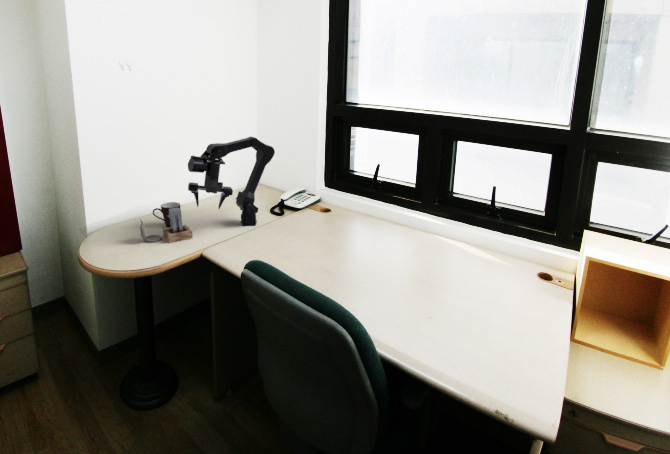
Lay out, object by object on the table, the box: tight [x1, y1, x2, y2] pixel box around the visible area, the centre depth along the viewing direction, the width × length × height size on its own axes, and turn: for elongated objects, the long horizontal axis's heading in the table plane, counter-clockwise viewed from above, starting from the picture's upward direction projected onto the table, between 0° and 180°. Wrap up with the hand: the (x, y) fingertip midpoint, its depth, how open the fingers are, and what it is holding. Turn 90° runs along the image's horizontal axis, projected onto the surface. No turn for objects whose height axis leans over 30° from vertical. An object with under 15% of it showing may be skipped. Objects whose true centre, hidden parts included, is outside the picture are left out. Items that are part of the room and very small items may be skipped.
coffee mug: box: [152, 201, 181, 228], centre depth 209 cm, size 12×9×10 cm
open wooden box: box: [162, 224, 194, 244], centre depth 195 cm, size 10×9×4 cm
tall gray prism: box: [169, 207, 184, 234], centre depth 193 cm, size 4×4×12 cm
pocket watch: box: [139, 218, 162, 243], centre depth 191 cm, size 8×8×10 cm
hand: (208, 207), depth 199 cm, fingers open, 9 cm apart
